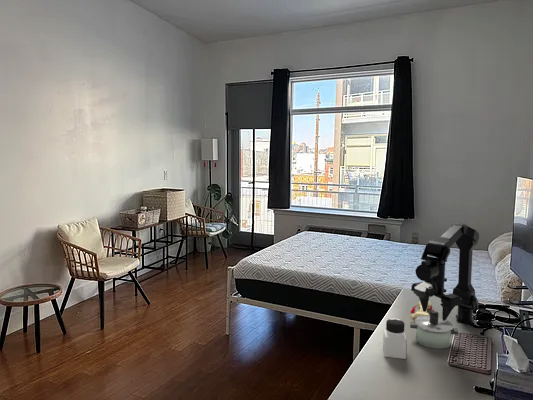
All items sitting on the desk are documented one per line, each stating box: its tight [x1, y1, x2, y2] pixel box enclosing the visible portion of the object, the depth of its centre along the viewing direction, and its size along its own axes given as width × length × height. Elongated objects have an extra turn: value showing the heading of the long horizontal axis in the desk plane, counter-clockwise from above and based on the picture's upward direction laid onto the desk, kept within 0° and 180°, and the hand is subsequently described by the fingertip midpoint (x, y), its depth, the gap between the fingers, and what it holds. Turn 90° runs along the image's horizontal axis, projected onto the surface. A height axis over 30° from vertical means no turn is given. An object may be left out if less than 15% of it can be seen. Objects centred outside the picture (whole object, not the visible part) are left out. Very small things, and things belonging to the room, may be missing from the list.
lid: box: [414, 310, 454, 333], centre depth 148 cm, size 13×13×5 cm
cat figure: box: [409, 301, 435, 322], centre depth 171 cm, size 10×9×25 cm
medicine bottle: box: [382, 317, 408, 360], centre depth 139 cm, size 7×7×12 cm
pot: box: [409, 321, 459, 350], centre depth 148 cm, size 12×16×6 cm
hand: (434, 315), depth 147 cm, fingers open, 9 cm apart
